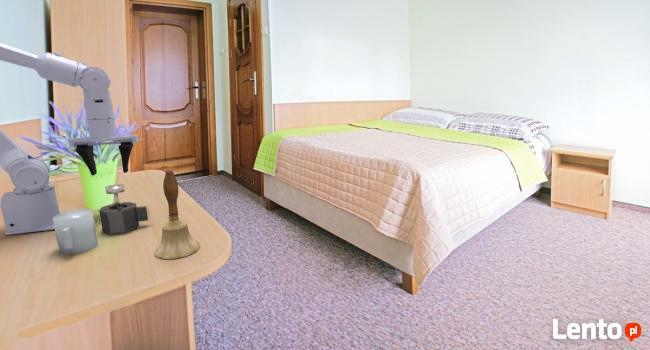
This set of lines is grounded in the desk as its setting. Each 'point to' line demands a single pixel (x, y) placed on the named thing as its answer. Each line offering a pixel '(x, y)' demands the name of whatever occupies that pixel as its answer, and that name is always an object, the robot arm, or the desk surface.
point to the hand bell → (174, 226)
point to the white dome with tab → (75, 231)
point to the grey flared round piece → (115, 192)
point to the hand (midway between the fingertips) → (110, 173)
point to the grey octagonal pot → (121, 218)
